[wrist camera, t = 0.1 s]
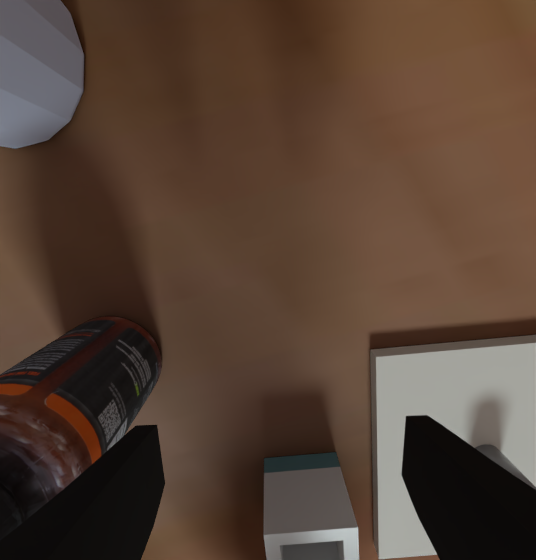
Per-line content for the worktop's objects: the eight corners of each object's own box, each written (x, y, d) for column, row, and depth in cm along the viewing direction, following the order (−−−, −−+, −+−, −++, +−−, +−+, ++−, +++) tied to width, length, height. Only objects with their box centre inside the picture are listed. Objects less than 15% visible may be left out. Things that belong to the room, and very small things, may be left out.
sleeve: (338, 509, 21) (360, 596, 17) (270, 515, 22) (272, 603, 17) (335, 452, 20) (357, 527, 15) (264, 458, 20) (263, 534, 16)
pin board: (561, 529, 22) (634, 607, 18) (373, 543, 22) (400, 625, 18) (593, 329, 18) (695, 365, 14) (370, 349, 19) (402, 391, 14)
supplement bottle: (51, 353, 19) (-262, 556, 8) (115, 293, 18) (-132, 425, 7) (120, 415, 20) (-66, 674, 9) (184, 361, 19) (69, 572, 8)
